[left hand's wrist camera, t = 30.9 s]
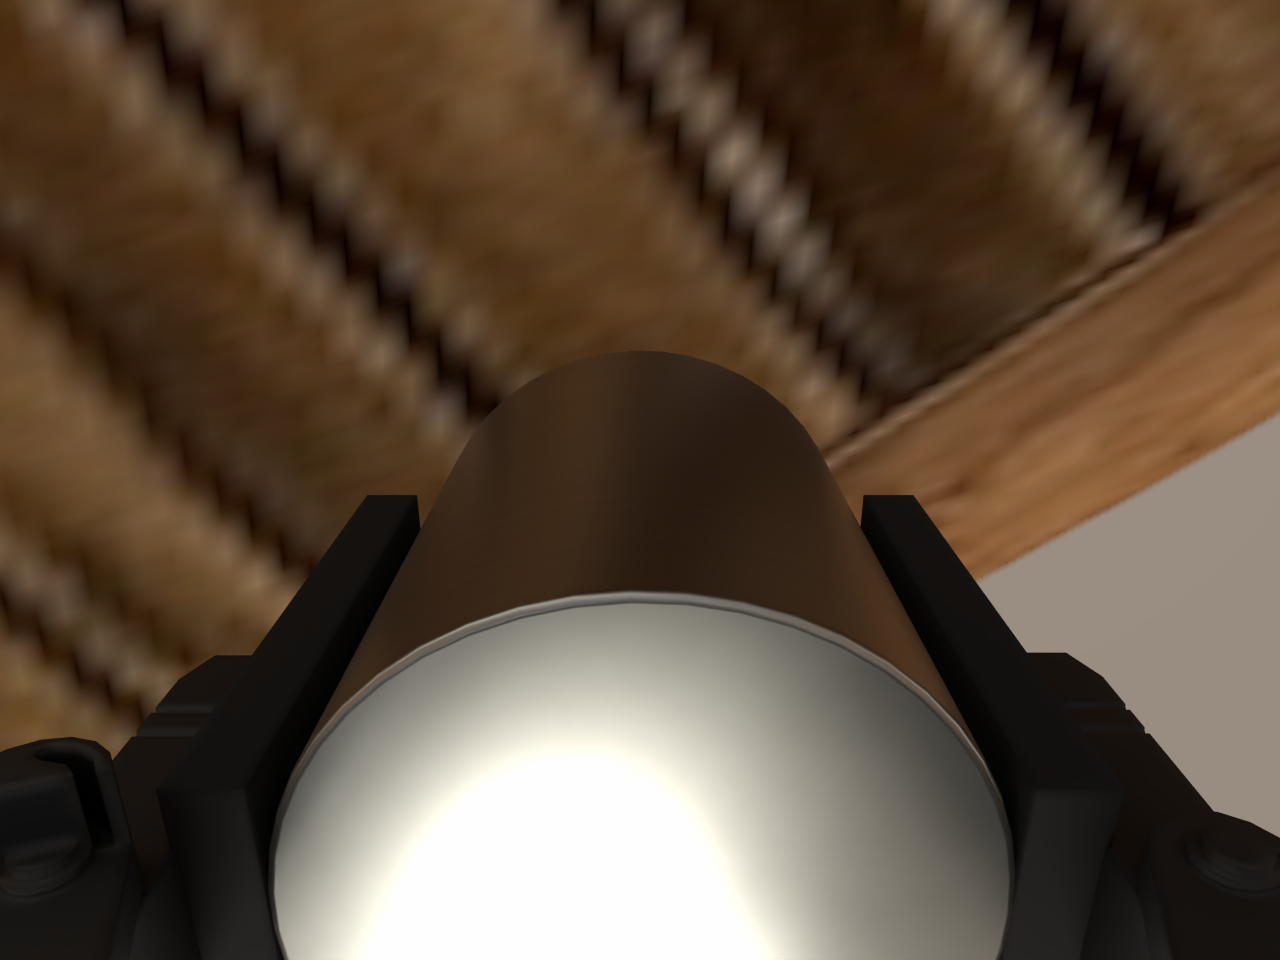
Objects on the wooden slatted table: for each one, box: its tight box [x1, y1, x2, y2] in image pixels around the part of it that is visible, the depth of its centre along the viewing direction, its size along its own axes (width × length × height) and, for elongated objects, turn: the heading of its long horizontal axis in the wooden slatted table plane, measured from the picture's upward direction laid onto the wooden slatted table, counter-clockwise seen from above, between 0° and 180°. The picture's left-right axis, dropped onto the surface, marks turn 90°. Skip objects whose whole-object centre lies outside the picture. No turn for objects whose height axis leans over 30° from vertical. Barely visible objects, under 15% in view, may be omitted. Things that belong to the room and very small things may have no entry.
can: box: [268, 351, 1016, 960], centre depth 12 cm, size 7×7×8 cm
